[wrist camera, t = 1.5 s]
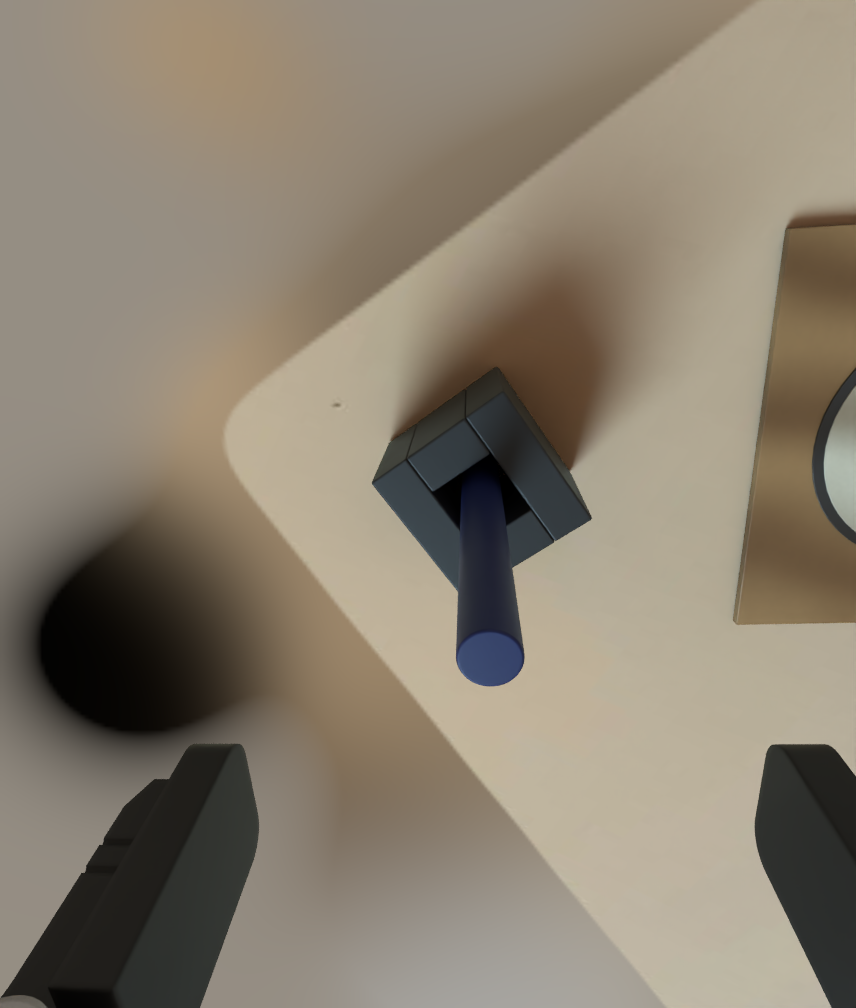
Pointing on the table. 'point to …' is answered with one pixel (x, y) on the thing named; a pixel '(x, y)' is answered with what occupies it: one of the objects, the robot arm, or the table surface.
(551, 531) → the holder
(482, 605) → the pen
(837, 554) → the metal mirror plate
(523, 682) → the table surface
